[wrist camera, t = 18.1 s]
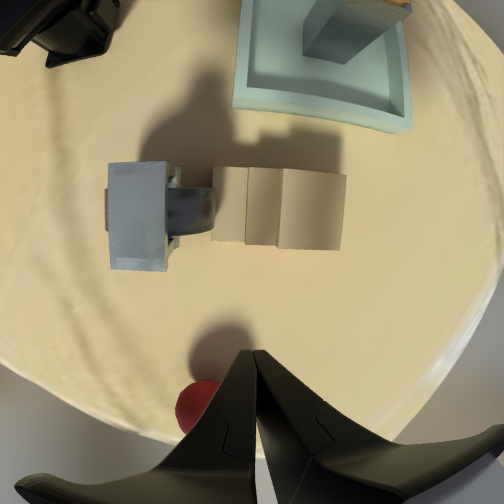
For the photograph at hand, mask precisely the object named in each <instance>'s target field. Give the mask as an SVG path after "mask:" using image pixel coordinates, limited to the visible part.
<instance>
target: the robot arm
mask: <svg viewBox="0 0 504 504" xmlns="http://www.w3.org/2000/svg"><path fill="white" fill-rule="evenodd" d="M114 3H115V4H114ZM119 5H120V1H119V0H0V55H7V56H14V57H17V55H18V54H19V53H20V52H21V50H22V49H23V48H24V47H25V46H26V45H27V44H28V43H29V42H30V41H32V42H33V43H35V44H37V45H38V46H40V47H41V48H43V49H44V50H46V51H48V52H49V53H48V57H47V60H46V64H45V66H46V67H47V68H49V69H50V68H53V67H57V66H60V65H64V64H67V63H71V62H75V61H78V60H83V59H87V58H91V57H96V56H100V55H103V54H104V53H105V52H106V50H107V46H108V42H109V38H110V34H111V33H112V32H113V29H114V26H115V22H116V19H117V16H118V13H119V11H118V8H119ZM100 49H102V50H101V51H99V50H100ZM50 63H51V64H50ZM49 64H50V65H49ZM256 422H257V426H258V430H259V434H260V438H261V442H262V446H263V450H264V453H265V457H266V461H267V465H268V469H269V472H270V476H271V480H272V483H273V487H274V491H275V494H276V498H277V501H278V504H504V467H503V465H502V464H501V463H500V462H499V460H498V459H497V457H498V456H499V455H500V454H501V453H502V452H503V451H504V424H499V425H494V426H491V427H490V428H488V429H487V430H485V431H484V432H482V433H480V434H478V435H475V436H472V437H469V438H465V439H460V440H453V441H445V442H438V443H427V444H414V445H402V444H397V443H393V442H390V441H388V440H386V439H384V438H382V437H380V436H379V435H377V434H375V433H373V432H371V431H370V430H368V429H366V428H364V427H363V426H361V425H359V424H358V423H356V422H354V421H353V420H351V419H349V418H348V417H346V416H345V415H343V414H342V413H340V412H339V411H338V410H336V409H335V408H334V407H332V406H331V405H330V404H329V403H327V402H326V401H323V399H322V398H321V397H320V396H318V395H317V394H316V393H315V392H314V391H312V390H311V389H310V388H309V387H307V386H306V385H305V384H304V383H303V382H301V381H300V380H299V379H298V378H297V377H295V376H294V375H293V374H292V373H291V372H290V371H288V370H287V369H286V368H285V367H284V366H283V365H281V364H280V363H279V362H278V361H277V360H276V359H275V358H273V357H272V356H271V355H270V354H269V353H268V352H267V351H265V350H253V351H252V350H240V351H239V352H238V354H237V356H236V357H235V359H234V361H233V362H232V364H231V366H230V368H229V369H228V371H227V373H226V375H225V376H224V378H223V380H222V381H221V383H220V385H219V387H218V388H217V390H216V392H215V393H214V395H213V397H212V398H211V400H210V402H209V403H208V405H207V407H206V408H205V410H204V411H203V413H202V415H201V416H200V418H199V419H198V421H197V422H196V424H195V425H194V426H193V427H192V429H191V430H190V431H189V432H188V433H187V435H186V436H185V437H184V438H183V439H182V440H181V441H180V442H179V443H178V444H177V446H176V447H175V448H174V449H173V450H172V451H171V452H170V453H169V454H168V455H167V456H166V457H165V459H163V460H162V461H161V462H160V463H159V464H158V465H157V466H155V467H154V468H152V469H151V470H149V471H146V472H143V473H140V474H136V475H133V476H129V477H125V478H122V479H117V480H114V481H109V482H104V483H99V484H91V485H90V484H78V483H73V482H70V481H67V480H64V479H61V478H58V477H56V476H54V475H51V474H47V473H38V474H34V475H29V476H26V477H24V478H22V479H21V480H19V481H18V482H17V483H16V484H15V485H14V488H15V490H16V491H17V492H18V493H19V494H20V495H21V496H22V497H23V498H24V499H25V500H26V501H27V502H28V503H30V504H257V495H256V484H255V452H256Z"/></svg>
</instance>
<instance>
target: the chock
mask: <svg viewBox="0 0 504 504" xmlns="http://www.w3.org/2000/svg"><path fill="white" fill-rule="evenodd" d="M346 176H347V175H341V174H333V173H325V172H316V171H306V170H296V169H284V168H283V169H273V168H258V167H248V168H244V167H218V166H213V179H212V187H213V188H216V199H215V225H214V228H213V229H212V230H211V241H237V242H245V245H275V246H277V248H278V249H304V250H338V251H340V243H341V234H342V225H343V215H344V204H345V191H346Z"/></svg>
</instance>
